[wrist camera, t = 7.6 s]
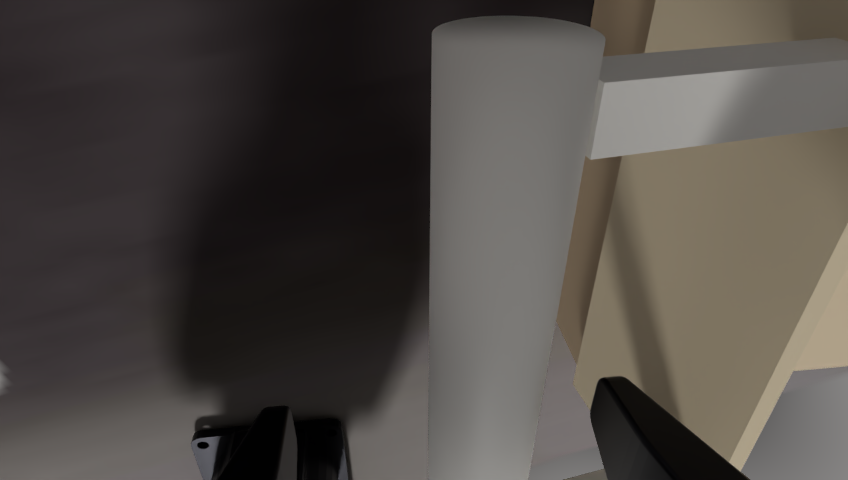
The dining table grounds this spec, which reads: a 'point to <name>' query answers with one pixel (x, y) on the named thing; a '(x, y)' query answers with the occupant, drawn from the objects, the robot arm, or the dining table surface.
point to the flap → (633, 217)
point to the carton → (625, 34)
